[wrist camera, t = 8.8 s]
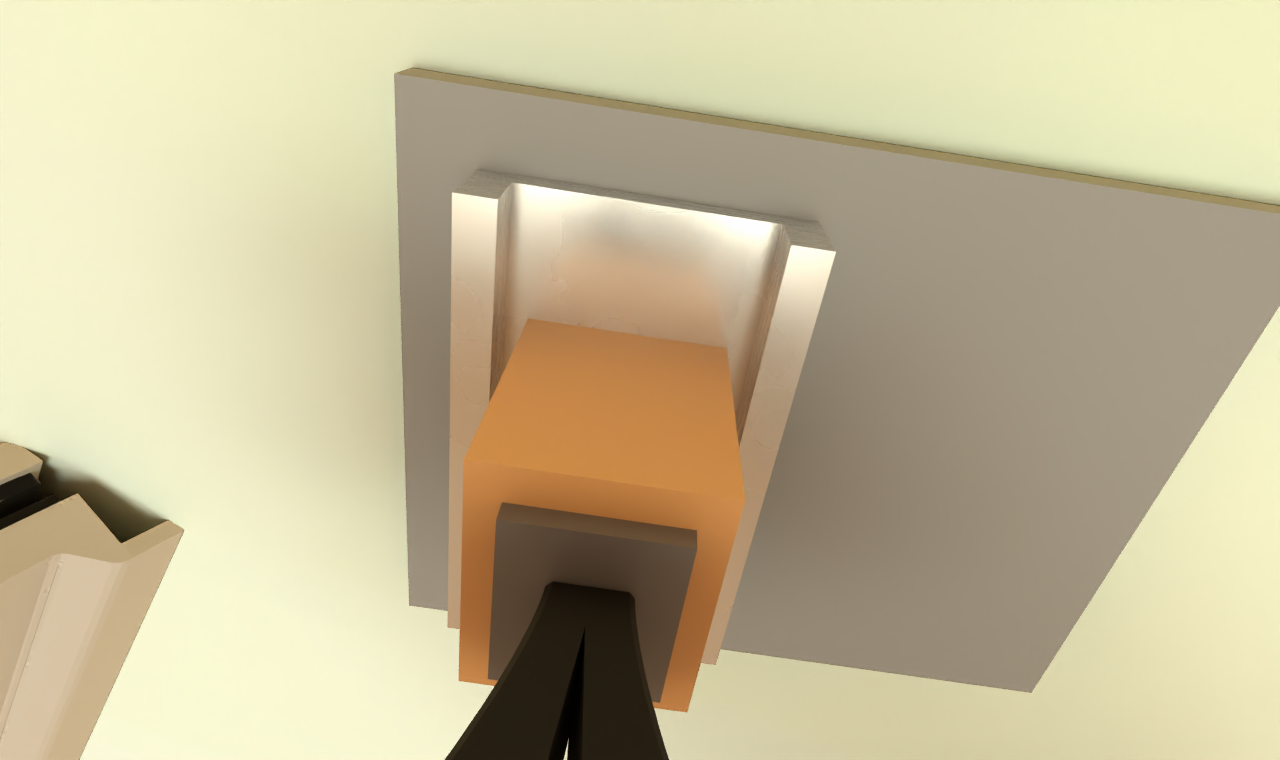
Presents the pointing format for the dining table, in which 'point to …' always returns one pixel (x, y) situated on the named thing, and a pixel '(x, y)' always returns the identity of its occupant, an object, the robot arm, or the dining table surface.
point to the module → (602, 494)
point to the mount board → (889, 365)
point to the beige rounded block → (64, 610)
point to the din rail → (632, 309)
